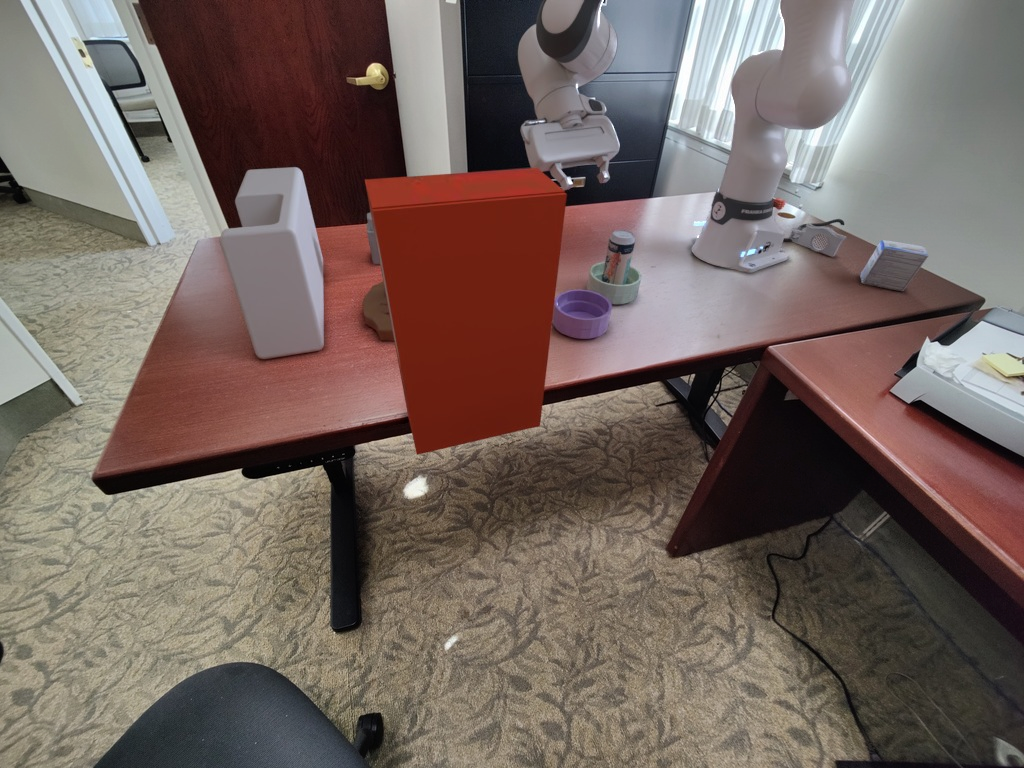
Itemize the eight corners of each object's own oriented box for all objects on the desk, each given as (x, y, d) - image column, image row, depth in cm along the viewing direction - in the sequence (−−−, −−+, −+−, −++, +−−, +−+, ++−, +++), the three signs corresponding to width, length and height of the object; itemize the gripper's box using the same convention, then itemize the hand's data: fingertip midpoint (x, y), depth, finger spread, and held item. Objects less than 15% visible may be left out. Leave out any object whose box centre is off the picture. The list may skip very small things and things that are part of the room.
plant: (356, 294, 86) (344, 239, 79) (451, 277, 93) (448, 225, 85) (375, 352, 73) (361, 292, 65) (484, 328, 79) (484, 271, 72)
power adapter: (386, 252, 101) (377, 199, 93) (387, 263, 97) (378, 208, 89) (372, 253, 100) (362, 199, 92) (373, 264, 96) (362, 209, 88)
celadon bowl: (620, 278, 95) (624, 258, 92) (646, 301, 88) (651, 281, 85) (578, 284, 92) (580, 265, 89) (601, 309, 85) (605, 289, 82)
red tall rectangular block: (540, 428, 61) (567, 192, 40) (417, 457, 57) (372, 208, 35) (521, 391, 67) (535, 166, 45) (407, 414, 62) (364, 178, 41)
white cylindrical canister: (597, 285, 91) (607, 228, 83) (619, 285, 92) (632, 228, 84) (603, 297, 88) (614, 239, 80) (626, 296, 88) (639, 239, 80)
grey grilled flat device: (786, 240, 113) (796, 217, 109) (789, 238, 114) (800, 216, 110) (832, 258, 106) (845, 234, 102) (836, 256, 107) (849, 232, 103)
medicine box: (899, 283, 97) (925, 246, 91) (903, 292, 94) (930, 254, 88) (858, 275, 99) (881, 238, 94) (861, 284, 96) (884, 246, 90)
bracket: (287, 320, 97) (244, 170, 85) (336, 313, 99) (301, 167, 88) (256, 361, 70) (188, 150, 58) (325, 350, 72) (273, 146, 61)
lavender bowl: (591, 306, 86) (594, 286, 83) (617, 335, 79) (622, 314, 76) (543, 314, 83) (545, 294, 80) (566, 345, 76) (569, 323, 73)
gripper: (524, 109, 77) (552, 183, 78) (610, 102, 86) (635, 168, 87) (510, 132, 83) (536, 201, 84) (592, 123, 92) (615, 185, 92)
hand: (587, 184), depth 85 cm, fingers open, 8 cm apart
